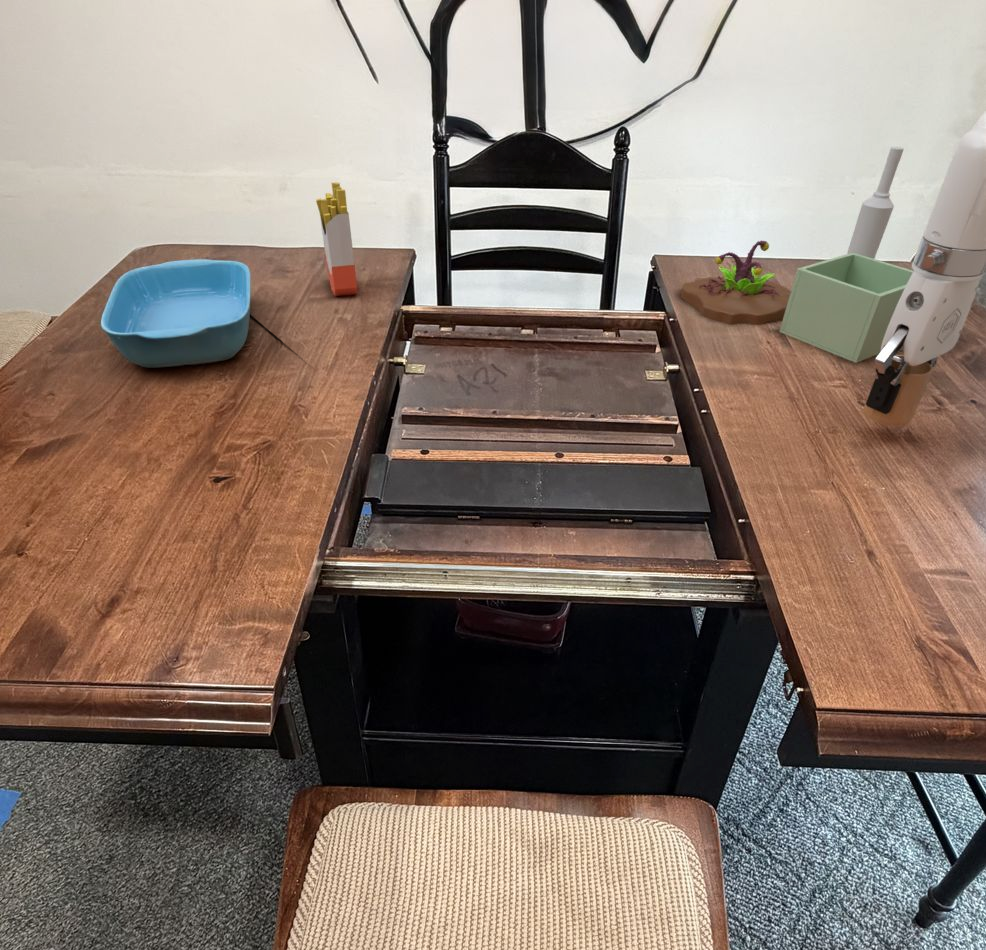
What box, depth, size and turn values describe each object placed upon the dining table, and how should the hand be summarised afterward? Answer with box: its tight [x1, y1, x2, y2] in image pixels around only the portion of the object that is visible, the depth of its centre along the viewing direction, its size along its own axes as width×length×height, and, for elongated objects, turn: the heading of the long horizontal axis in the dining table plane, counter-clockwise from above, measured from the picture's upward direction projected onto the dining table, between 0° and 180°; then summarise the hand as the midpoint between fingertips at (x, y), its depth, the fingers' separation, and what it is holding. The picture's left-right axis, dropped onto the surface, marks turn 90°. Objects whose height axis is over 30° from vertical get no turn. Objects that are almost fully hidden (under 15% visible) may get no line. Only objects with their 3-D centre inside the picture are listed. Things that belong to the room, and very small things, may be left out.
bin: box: [779, 253, 914, 364], centre depth 118 cm, size 15×15×11 cm
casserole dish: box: [100, 258, 252, 369], centre depth 118 cm, size 37×22×7 cm, turn 14°
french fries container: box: [315, 181, 358, 297], centre depth 130 cm, size 5×11×18 cm, turn 17°
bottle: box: [846, 146, 905, 259], centre depth 127 cm, size 5×5×25 cm
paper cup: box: [862, 354, 935, 427], centre depth 92 cm, size 6×6×7 cm
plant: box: [680, 240, 791, 326], centre depth 129 cm, size 20×20×11 cm
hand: (892, 400), depth 93 cm, fingers closed on paper cup, 6 cm apart
